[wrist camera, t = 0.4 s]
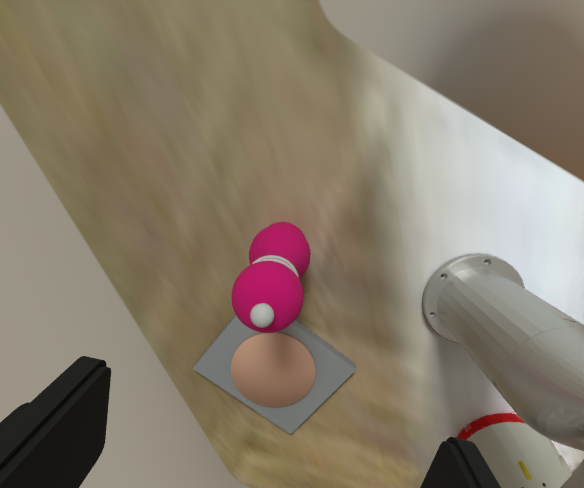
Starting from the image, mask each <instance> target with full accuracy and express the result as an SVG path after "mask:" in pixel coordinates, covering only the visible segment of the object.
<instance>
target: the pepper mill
mask: <svg viewBox="0 0 584 488" xmlns="http://www.w3.org/2000/svg"><path fill="white" fill-rule="evenodd" d="M249 261H250V265H249V266H248V267H247V268H245V269H244V270H243V271H242V272H241V273H240V275H239V276H238V277H237V279H236V281H235V283H234V286H233V289H232V306H233V309H234V312H235V314H236V316H237V317H238V319H239V320H240V321H241V322H242V323H243V324H244V325H245V326H247V327H248V328H250V329H252V330H255V331H258V332H261V333H274V332H278V331H281V330H283V329H285V328H287V327H288V326H289V325H290V324H292V323H293V322H294V320H295V319H296V318H297V317H298V315H299V313H300V311H301V308H302V305H303V297H304V294H303V288H302V284H301V281H300V280H299V279H300V278H301V277H302V276H303V274H304V273H305V272H306V270H307V268H308V265H309V261H310V248H309V245H308V242H307V240H306V239H305V236H304V234H303V233H302V231H301V230H300V229H299V228H298V227H296V226H294V225H292V224H290V223H286V222H279V223H275V224H272V225H270V226H269V227H267V228H265V229H263V230H262V231H260V232H259V233H258V234H257V235H256V237H255V238H254V240H253V242H252V244H251V247H250V251H249Z"/></svg>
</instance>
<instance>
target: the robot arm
mask: <svg viewBox="0 0 584 488" xmlns="http://www.w3.org/2000/svg"><path fill="white" fill-rule="evenodd" d="M442 274H443V275H442ZM441 275H442V276H441ZM423 310H424V314H425V316H426V319H427V320H428V322H429V323H430V325H431V326H432V328H433V329H434V330H435V331H436V332H437V333H438V334H440V335H441V336H442V337H444V338H446V339H448V340H450V341H453V342H457V343H460V344H461V345H462V346H463V348H464V349H465V350H466V351H467V353H468V354H469V355H470V356H471V358H472V359H473V360H474V361H475V363H476V364H477V365H478V366H479V368H480V369H481V370H482V371H483V373H484V374H485V375H486V376H487V378H488V379H489V380H490V381H491V383H492V384H493V385H494V386H495V388H496V389H497V390H498V391H499V393H500V394H501V395H502V396H503V398H504V399H505V400H506V401H507V403H508V404H509V405H510V406H511V407H512V408H513V410H514V411H515V412H516V413H517V415H518V416H519V417H520V418H521V419H522V420H523V421H524V422H525V423H526V424H527V425H529V426H530V427H531V428H532V429H534V430H535V431H537V432H538V433H540V434H541V435H543V436H545V437H546V438H548V439H550V440H553V441H555V442H558V443H560V444H562V445H565V446H568V447H572V448H575V449H578V450H582V451H584V325H583V324H581V323H580V322H578V321H576V320H575V319H573V318H572V317H570V316H568V315H567V314H565V313H563V312H562V311H560V310H559V309H557V308H555V307H554V306H552V305H551V304H549V303H547V302H546V301H544V300H542V299H541V298H539V297H538V296H536V295H534V294H533V293H531V292H529V291H528V290H526V289H525V287H524V284H523V280H522V278H521V277H520V275H519V273H518V272H517V271H516V270H515V269H514V268H513V266H511V265H510V264H508V263H507V262H505V261H504V260H502V259H500V258H498V257H495V256H492V255H488V254H479V253H478V254H468V255H464V256H460V257H457V258H455V259H453V260H450V261H449V262H447V263H446V264H444V265H443V266H441V267H440V268H439V269H438V270H437V271H436V272H435V273H434V274H433V276H432V277H431V278H430V280H429V282H428V283H427V285H426V287H425V291H424V295H423ZM431 312H432V313H431ZM110 378H111V369H110V368H108V367H106V362H105V361H104V360H99V359H95V358H90V357H86V356H82V357H80V358H79V359H77V360H76V361H75V362H74V363H73V364H72V365H71V366H70V367H69V368H68V369H66V370H65V371H64V372H63V373H62V374H61V375H60V376H59V377H58V378H57V379H56V380H54V381H53V382H52V383H51V384H50V385H49V386H48V387H47V388H46V389H45V390H43V391H42V392H41V393H40V394H39V395H38V396H37V397H36V398H35V399H34V400H33V401H32V402H30V403H25V404H23V405H21V406H19V407H18V408H17V409H15V410H14V411H13V412H12V413H11V414H10V415H9V416H7V417H6V418H5V419H4V420H3V421H2V422H1V423H0V488H79V487H80V485H81V484H82V482H83V481H84V479H85V478H86V476H87V475H88V473H89V472H90V470H91V469H92V467H93V466H94V464H95V463H96V461H97V460H98V458H99V456H100V455H101V453H102V450H103V448H104V444H105V435H106V425H107V413H108V402H109V390H110ZM420 488H501V487H500V485H499V483H498V481H497V480H496V478H495V476H494V475H493V473H492V471H491V470H490V468H489V466H488V464H487V463H486V461H485V459H484V458H483V456H482V454H481V453H480V451H479V449H478V448H477V446H476V445H475V443H473V442H472V441H468V440H463V439H458V438H454V437H450V438H448V439H447V441H446V442H445V441H444V442H442V443H441V445H440V447H439V449H438V451H437V453H436V455H435V458H434V460H433V462H432V464H431V466H430V468H429V470H428V472H427V474H426V477H425V479H424V481H423V483H422V485H421V487H420ZM560 488H584V460H583V461H582V462H581V463H580V464H579V465H578V467H577V468H576V469H575V470H574V471H573V472H572V476H571V477H570V478H569V479H568V480H567V481H566V482H565V483H564V484H563V485H562V486H561V487H560Z"/></svg>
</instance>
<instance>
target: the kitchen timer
mask: <svg viewBox="0 0 584 488" xmlns="http://www.w3.org/2000/svg"><path fill="white" fill-rule="evenodd" d="M457 438H458V439H463V440H468V441H472V442H473V443H475V445H476V446H477V448H478V449H479V451H480V453H481V454H482V456H483V458H484V459H485V461H486V463H487V464H488V466H489V468H490V470H491V471H492V473H493V475H494V476H495V478H496V480H497V481H498V483H499V485H500V487H501V488H560V487H561V486H562V485H563V484H564V483H565V482H566V481H567V480H568V479H569V478H570V477H571V476H572V471H571V470H570V468H569V466H568V465H567V463H566V462H565V460H564V458H563V457H562V456H561V455H559V453H558V451H557V449H556V448H555V446H554V444H553V443H552V441H551V440H550V439H548V438H546V437H545V436H543V435H541V434H540V433H538V432H537V431H535V430H534V429H532V428H531V427H530V426H529V425H527V424H526V423H525V422H524V421H523V420H522V419H521V418H520V417H519V416H518V415H516V414H512V413H498V414H493V415H489V416H484V417H482V418H480V419H478V420H476V421H474V422H472V423H470V424H469V425H468V426H467V427H465V428H464V429H463V430H462V431H461V432H460V434H459V435H458V437H457Z"/></svg>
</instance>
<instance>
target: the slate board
mask: <svg viewBox="0 0 584 488" xmlns="http://www.w3.org/2000/svg"><path fill="white" fill-rule="evenodd" d="M193 369H194V370H196V371H197V372H199V373H200V374H202V375H203V376H204V377H206V378H207V379H209V380H210V381H212V382H213V383H215V384H216V385H218V386H219V387H221V388H222V389H224V390H225V391H227V392H228V393H230V394H231V395H233V396H234V397H236V398H237V399H239V400H240V401H242V402H243V403H245V404H246V405H248V406H249V407H250V408H252V409H253V410H255V411H256V412H258V413H259V414H261V415H262V416H264V417H265V418H267V419H268V420H270V421H271V422H273V423H274V424H276V425H277V426H279V427H280V428H282V429H283V430H285V431H286V432H288V433H289V434H291V433H292V432H293V431H295V430H296V429H297V428H298V427H299V426H300V425H301V424H302V423H303V422H304V421H305V420H306V419H307V418H308V417H309V416H310V415H311V414H312V413H313V412H314V411H315V410H316V409H317V408H318V407H319V406H320V405H321V404H322V403H323V402H324V401H325V400H326V399H327V398H328V397H329V396H330V395H331V394H332V393H333V392H334V391H335V390H336V389H337V388H338V387H339V386H340V385H341V384H342V383H343V382H344V381H345V380H346V379H347V378H348V377H349V376H350V375H352V374H353V373H354V372H355V371H356V367H355V363H354V362H352V361H351V360H350V359H348V358H347V357H346V356H344V355H343V354H342V353H340V352H339V351H337V350H336V349H335V348H333V347H332V346H331V345H329V344H328V343H327V342H325V341H324V340H322V339H321V338H320V337H318V336H317V335H316V334H314V333H313V332H312V331H310V330H309V329H307V328H306V327H305V326H303V325H302V324H301V323H299V322H298V321H297V320H294V322H293V323H292V324H290V325H289V326H288V327H287V328H285V329H283V330H281V331H278V332H274V333H261V332H258V331H255V330H252V329H250V328H248V327H247V326H245V325H244V324H243V323H242V322H241V321H240V320H239V319H238V317H237V316H236V314H235V316H234V317H233V318H232V319H231V320H230V322H229V323H228V324H227V325H226V327H225V328H224V329H223V330H222V331H221V333H220V334H219V335H218V336H217V337H216V339H215V340H214V341H213V342H212V344H211V345H210V346H209V347H208V348H207V350H206V351H205V352H204V353H203V354H202V356H201V357H200V358H199V359H198V360H197V362H196V363H195V365H194V367H193Z"/></svg>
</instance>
